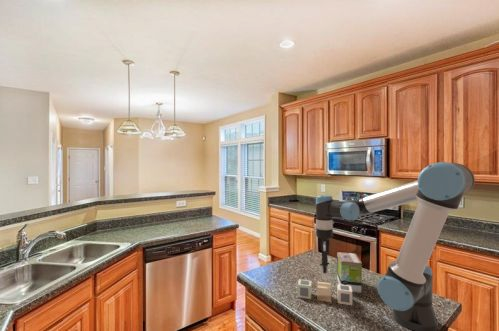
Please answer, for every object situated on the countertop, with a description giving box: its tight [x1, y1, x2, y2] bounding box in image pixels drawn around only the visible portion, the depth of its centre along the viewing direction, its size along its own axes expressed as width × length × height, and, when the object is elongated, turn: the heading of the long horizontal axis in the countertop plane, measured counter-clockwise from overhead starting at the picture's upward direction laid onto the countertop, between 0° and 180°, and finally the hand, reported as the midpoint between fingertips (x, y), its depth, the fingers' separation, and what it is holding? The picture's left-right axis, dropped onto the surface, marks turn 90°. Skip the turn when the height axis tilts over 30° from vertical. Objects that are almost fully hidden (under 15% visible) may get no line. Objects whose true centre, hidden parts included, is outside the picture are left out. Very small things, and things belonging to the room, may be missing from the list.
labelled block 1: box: [297, 278, 313, 300], centre depth 120 cm, size 6×6×6 cm
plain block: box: [316, 281, 332, 303], centre depth 118 cm, size 6×6×6 cm
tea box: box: [336, 251, 363, 294], centre depth 131 cm, size 15×10×15 cm, turn 168°
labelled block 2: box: [336, 283, 353, 306], centre depth 115 cm, size 6×6×6 cm
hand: (324, 279), depth 118 cm, fingers closed
